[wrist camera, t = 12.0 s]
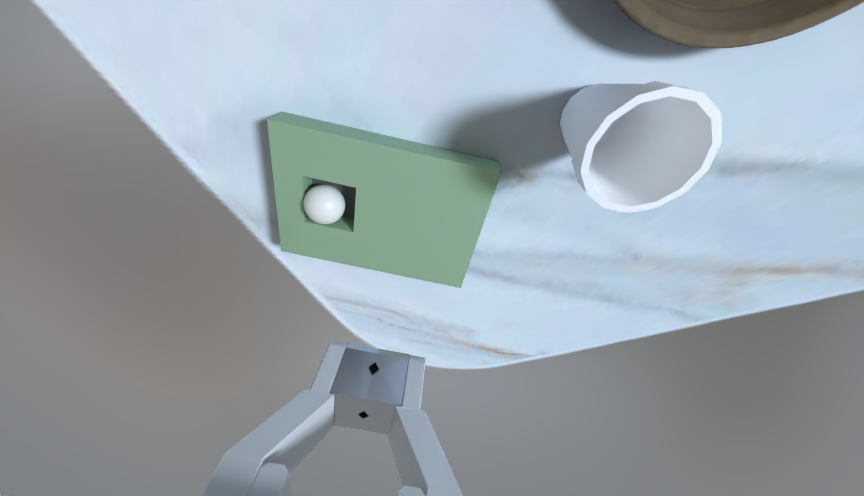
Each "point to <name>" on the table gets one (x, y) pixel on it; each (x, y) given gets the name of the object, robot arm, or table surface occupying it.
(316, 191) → the ball
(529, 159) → the table surface
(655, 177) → the foam cup
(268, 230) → the table surface
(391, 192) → the green
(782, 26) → the plant saucer
